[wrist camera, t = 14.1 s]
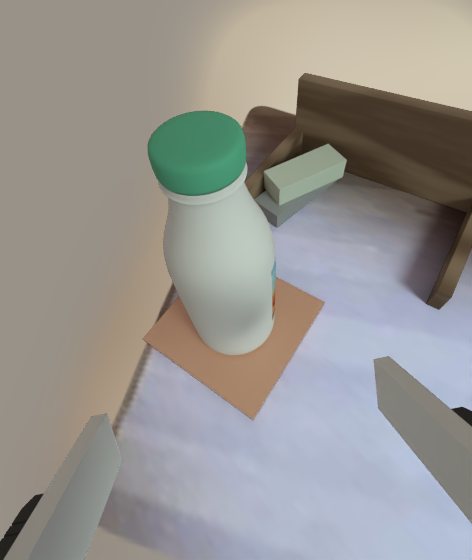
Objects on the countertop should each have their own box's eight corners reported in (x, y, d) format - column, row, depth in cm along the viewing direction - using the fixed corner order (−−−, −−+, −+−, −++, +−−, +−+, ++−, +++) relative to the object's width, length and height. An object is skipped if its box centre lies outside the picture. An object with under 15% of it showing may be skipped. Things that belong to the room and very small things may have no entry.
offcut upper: (325, 160, 40) (328, 143, 38) (342, 177, 39) (346, 159, 37) (263, 187, 39) (263, 171, 37) (279, 205, 37) (279, 189, 35)
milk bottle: (269, 363, 29) (267, 201, 12) (188, 351, 30) (82, 189, 13) (278, 290, 33) (287, 89, 16) (206, 282, 34) (143, 89, 17)
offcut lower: (312, 170, 43) (314, 154, 41) (335, 183, 42) (338, 168, 40) (254, 214, 40) (253, 199, 38) (277, 230, 38) (277, 216, 36)
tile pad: (221, 252, 37) (220, 248, 36) (323, 305, 32) (324, 302, 31) (145, 341, 32) (142, 338, 31) (253, 420, 27) (252, 419, 26)
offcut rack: (298, 147, 45) (305, 72, 37) (481, 208, 37) (545, 128, 28) (228, 227, 39) (216, 158, 30) (432, 325, 30) (496, 266, 21)
